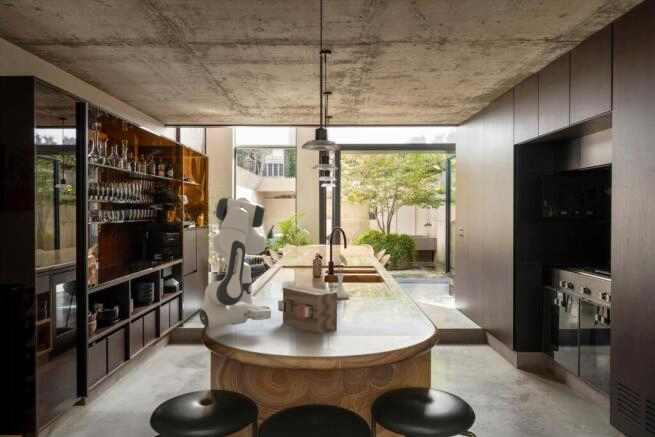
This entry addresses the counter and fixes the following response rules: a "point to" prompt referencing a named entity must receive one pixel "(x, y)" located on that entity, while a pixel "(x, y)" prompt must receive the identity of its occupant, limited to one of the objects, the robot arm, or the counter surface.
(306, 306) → the plunger right
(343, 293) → the flower in vase
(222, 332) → the counter surface
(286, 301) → the plunger left
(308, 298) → the button panel
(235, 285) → the robot arm
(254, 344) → the counter surface
